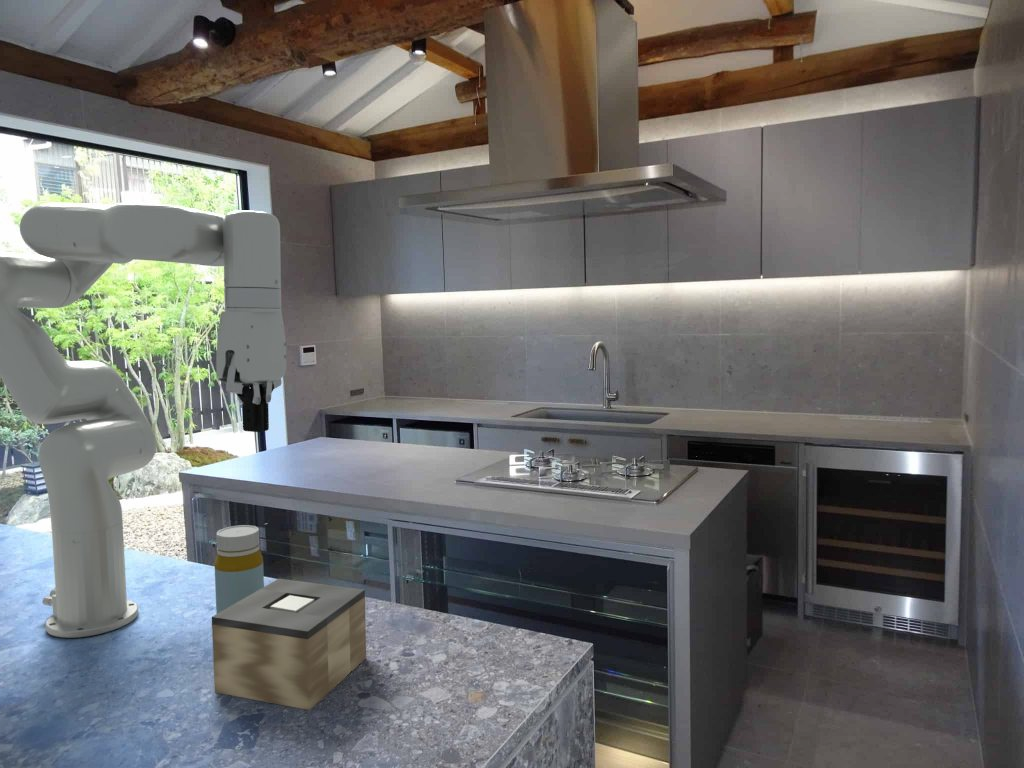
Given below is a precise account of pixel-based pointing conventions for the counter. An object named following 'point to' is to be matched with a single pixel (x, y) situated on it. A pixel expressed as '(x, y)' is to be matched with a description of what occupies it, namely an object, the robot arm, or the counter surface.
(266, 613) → the socket
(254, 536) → the bottle
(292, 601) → the peg
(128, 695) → the counter surface
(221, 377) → the robot arm
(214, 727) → the counter surface
